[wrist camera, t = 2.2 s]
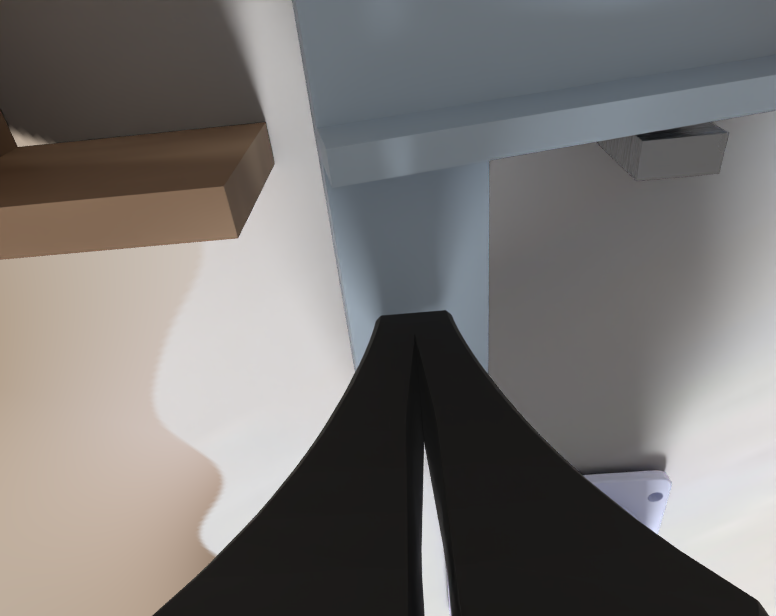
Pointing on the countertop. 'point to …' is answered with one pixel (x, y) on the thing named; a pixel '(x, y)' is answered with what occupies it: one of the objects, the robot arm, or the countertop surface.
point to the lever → (494, 120)
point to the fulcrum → (670, 152)
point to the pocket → (130, 189)
